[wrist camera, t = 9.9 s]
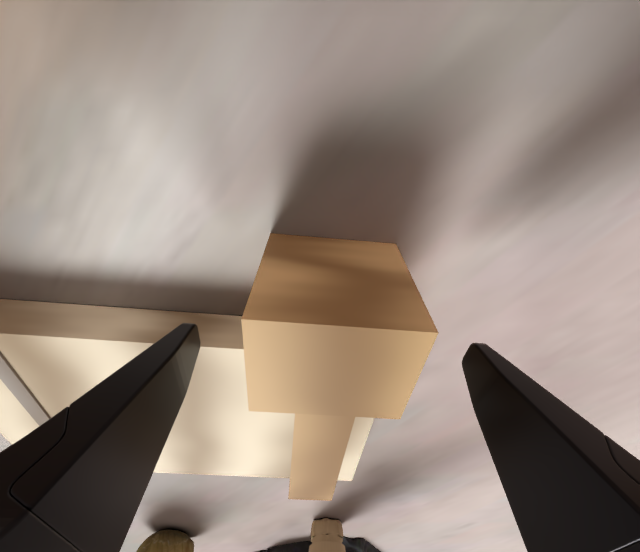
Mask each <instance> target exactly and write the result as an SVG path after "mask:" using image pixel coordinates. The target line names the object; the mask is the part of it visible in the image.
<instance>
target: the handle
mask: <svg viewBox="0 0 640 552" xmlns="http://www.w3.org/2000/svg"><path fill="white" fill-rule="evenodd" d="M311 542H312V544H311V545H310V546H309V552H346V550H345V546H344V545H343V544H342V542H343V529H342V524H341V522H340V521H339V520H331V519H328V518H324V519H321V520H315V521H313V523H312V528H311Z"/></svg>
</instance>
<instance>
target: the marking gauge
mask: <svg viewBox="0 0 640 552" xmlns="http://www.w3.org/2000/svg"><path fill="white" fill-rule="evenodd" d="M241 322H242V334H243V347H244V359H245V371H246V384H247V396H248V409H249V411H255V412H274V413H293V414H295V419H294V432H293V445H292V458H291V471H290V484H289V498H288V499H301V500H327V501H331V500H332V497H333V493H334V490H335V486H336V483H337V479H338V476H339V472H340V469H341V465H342V462H343V458H344V455H345V451H346V448H347V444H348V441H349V438H350V434H351V431H352V427H353V424H354V420H355V417H367V418H386V419H400V418H401V416H402V414H403V411H404V409H405V407H406V405H407V402H408V400H409V398H410V396H411V393H412V391H413V389H414V387H415V384H416V382H417V380H418V378H419V375H420V373H421V371H422V369H423V366H424V364H425V362H426V360H427V357H428V355H429V353H430V351H431V348H432V346H433V344H434V342H435V339H436V337H437V335H438V331H437V329H436V327H435V325H434V323H433V321H432V318H431V316H430V314H429V312H428V310H427V308H426V306H425V304H424V302H423V300H422V297H421V295H420V293H419V291H418V289H417V287H416V285H415V283H414V281H413V279H412V277H411V274H410V272H409V270H408V268H407V266H406V264H405V262H404V260H403V258H402V256H401V254H400V251H399V249H398V247H397V245H396V244H393V243H381V242H369V241H357V240H345V239H333V238H321V237H310V236H298V235H286V234H274V233H271V234H270V236H269V239H268V242H267V245H266V248H265V251H264V254H263V257H262V260H261V263H260V266H259V269H258V272H257V275H256V277H255V280H254V283H253V286H252V289H251V292H250V295H249V298H248V301H247V304H246V307H245V310H244V313H243V316H242V319H241Z"/></svg>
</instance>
